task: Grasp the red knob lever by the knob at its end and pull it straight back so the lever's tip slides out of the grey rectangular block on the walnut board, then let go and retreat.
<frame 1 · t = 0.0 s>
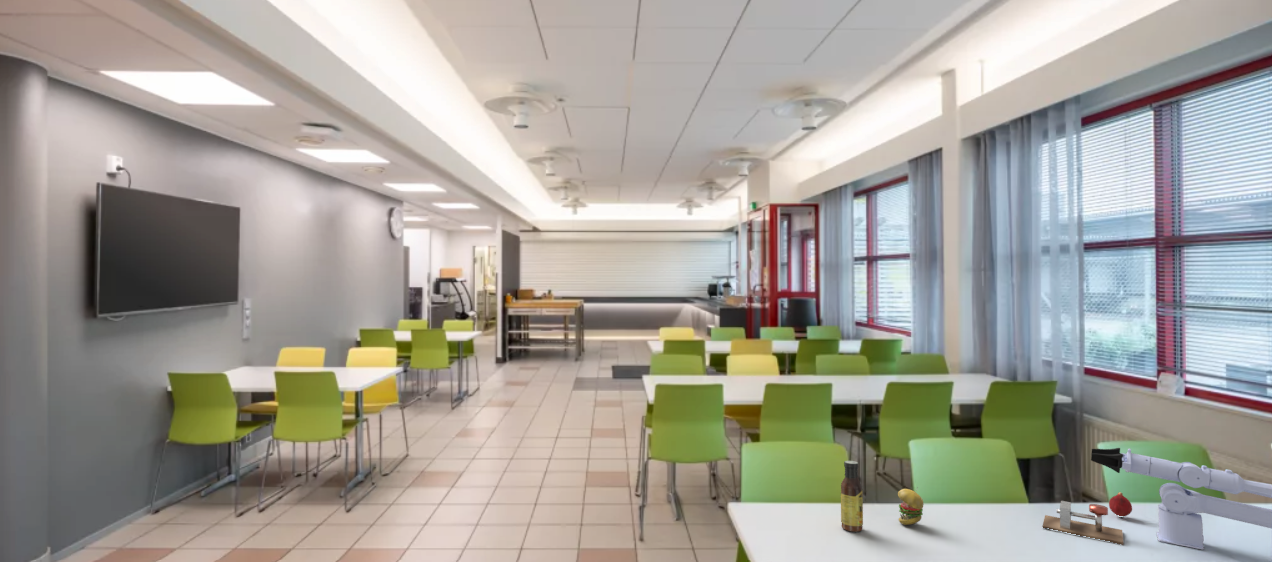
hand: (1091, 454, 182), 22 cm above the table, tool horizontal, fingers open, 7 cm apart
hamburger: (910, 525, 180), on the table
grey rectangular block: (1065, 527, 179), resting on board
red knob lever: (1081, 515, 177), point 5 cm above the table, slide at 0.0 cm
onion: (1120, 518, 188), on the table
board: (1082, 530, 177), on the table
sauce bottle: (851, 529, 176), on the table
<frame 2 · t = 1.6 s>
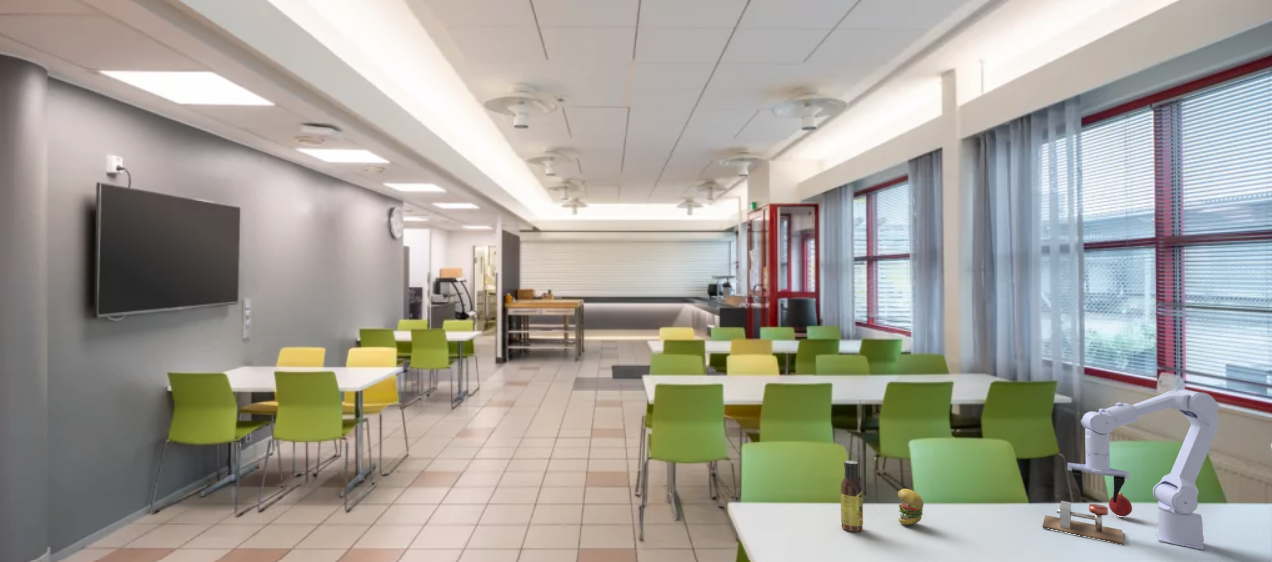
hand: (1098, 498, 175), 10 cm above the table, tool pointing down, fingers open, 7 cm apart
nothing on the table moved.
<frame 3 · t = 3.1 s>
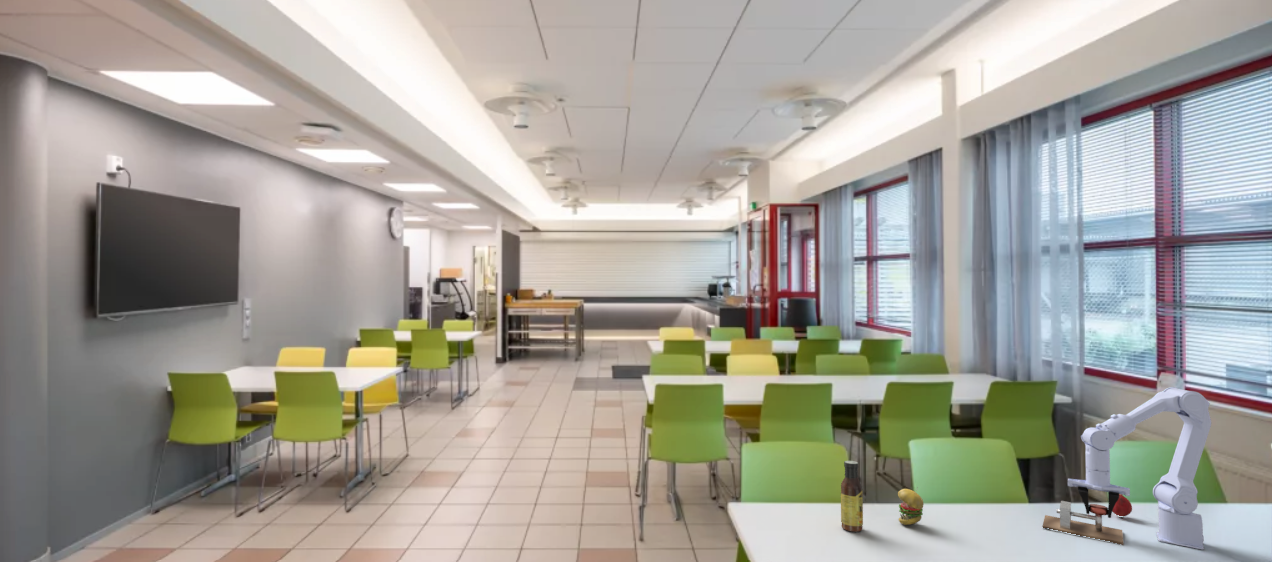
hand: (1098, 514, 175), 6 cm above the table, tool pointing down, fingers closed on red knob lever, 4 cm apart
red knob lever: (1081, 515, 177), point 5 cm above the table, slide at 0.0 cm, touching gripper
everything else where it was.
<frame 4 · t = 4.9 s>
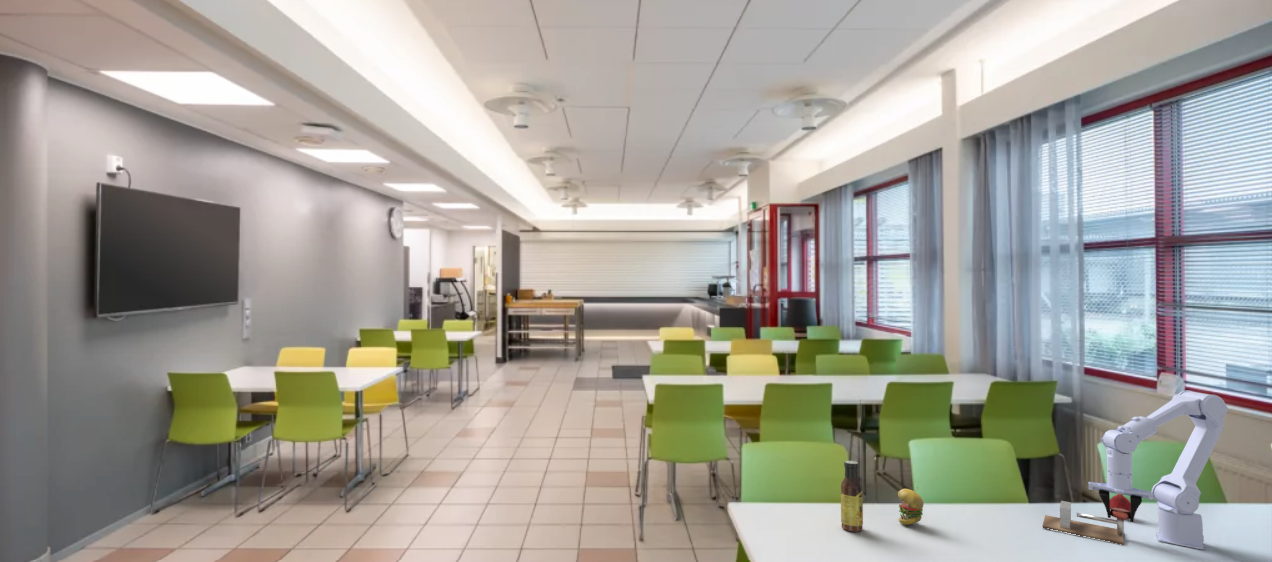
hand: (1120, 519, 171), 6 cm above the table, tool pointing down, fingers closed on red knob lever, 4 cm apart
red knob lever: (1102, 519, 174), point 5 cm above the table, slide at 5.0 cm, touching gripper
everything else where it was.
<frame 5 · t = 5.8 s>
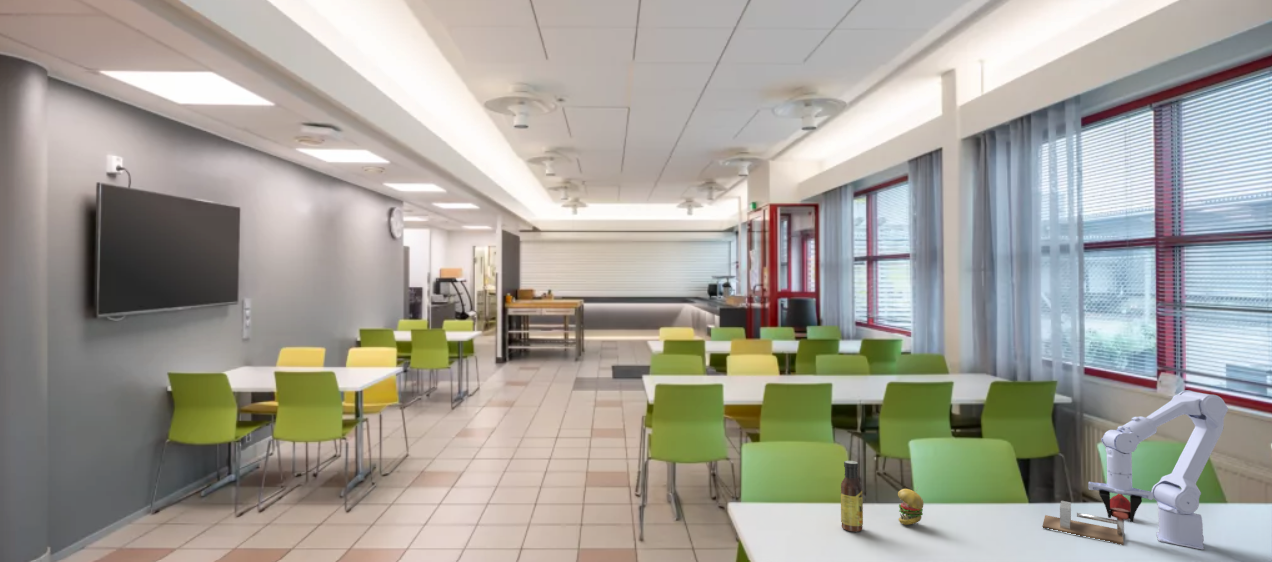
hand: (1120, 519, 171), 6 cm above the table, tool pointing down, fingers closed on red knob lever, 4 cm apart
red knob lever: (1103, 519, 174), point 5 cm above the table, slide at 5.0 cm, touching gripper
everything else where it was.
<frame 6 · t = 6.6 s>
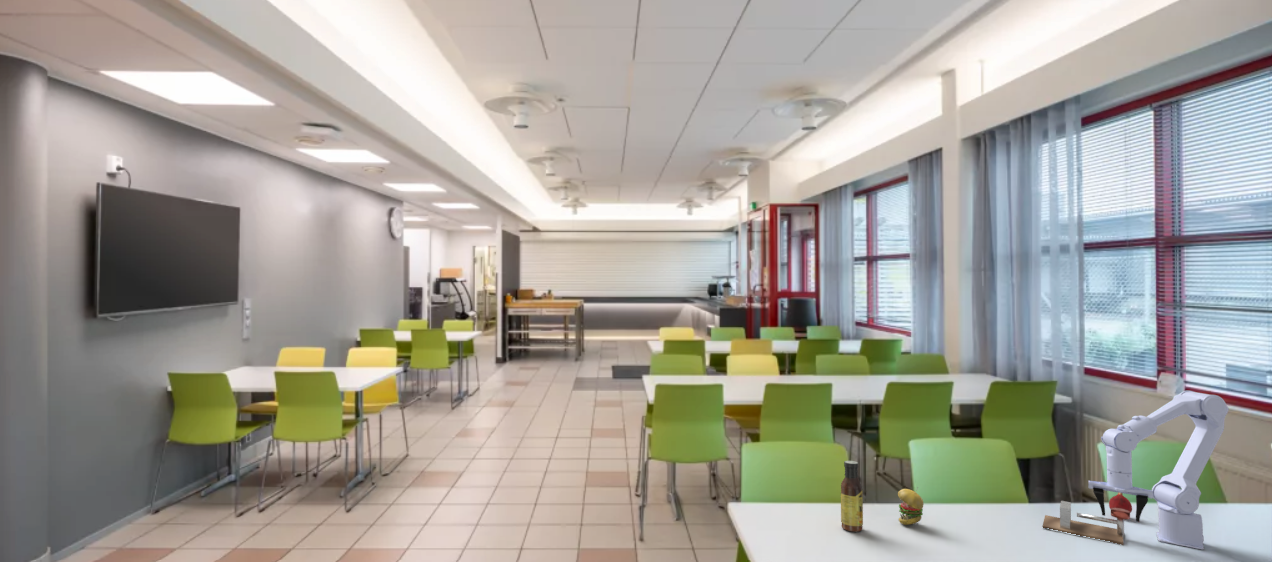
hand: (1120, 517, 171), 6 cm above the table, tool pointing down, fingers open, 7 cm apart
red knob lever: (1103, 519, 174), point 5 cm above the table, slide at 5.0 cm
everything else where it was.
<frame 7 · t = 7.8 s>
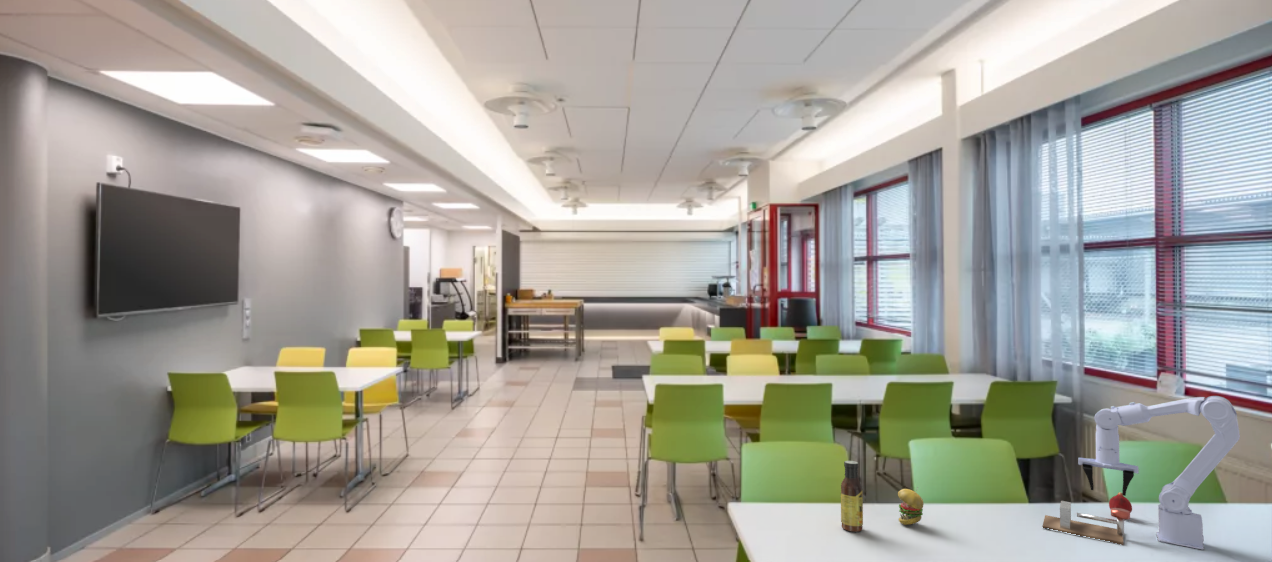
hand: (1107, 492, 181), 10 cm above the table, tool pointing down, fingers open, 7 cm apart
nothing on the table moved.
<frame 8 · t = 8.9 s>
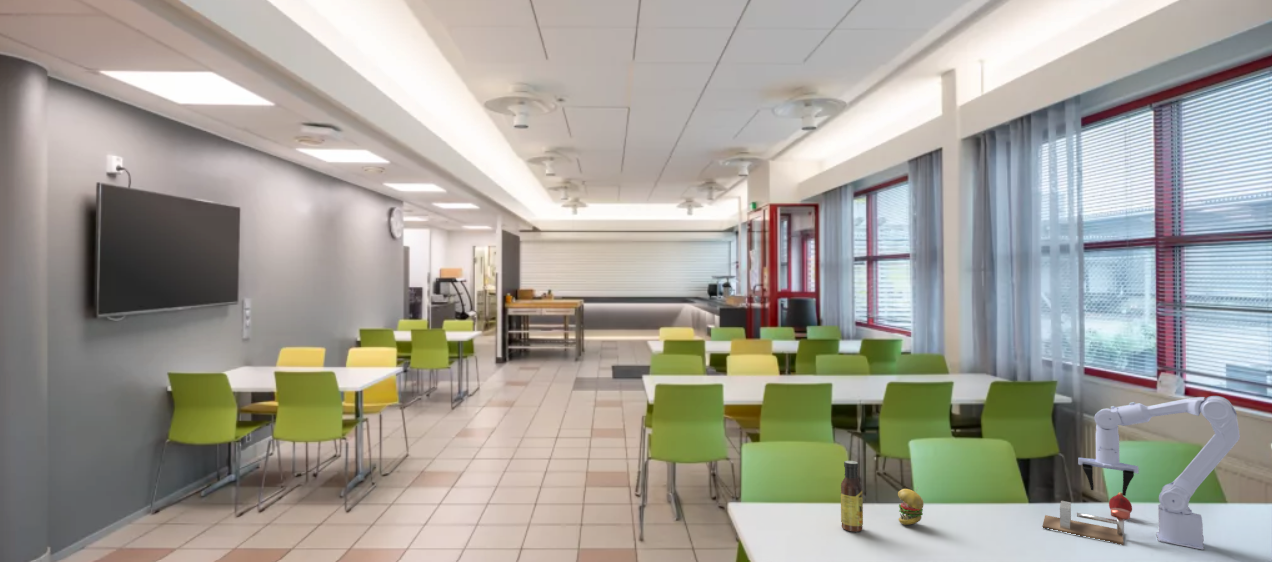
hand: (1107, 492, 181), 10 cm above the table, tool pointing down, fingers open, 7 cm apart
nothing on the table moved.
at the end: red knob lever slide at 5.0 cm; the gripper is holding nothing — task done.
